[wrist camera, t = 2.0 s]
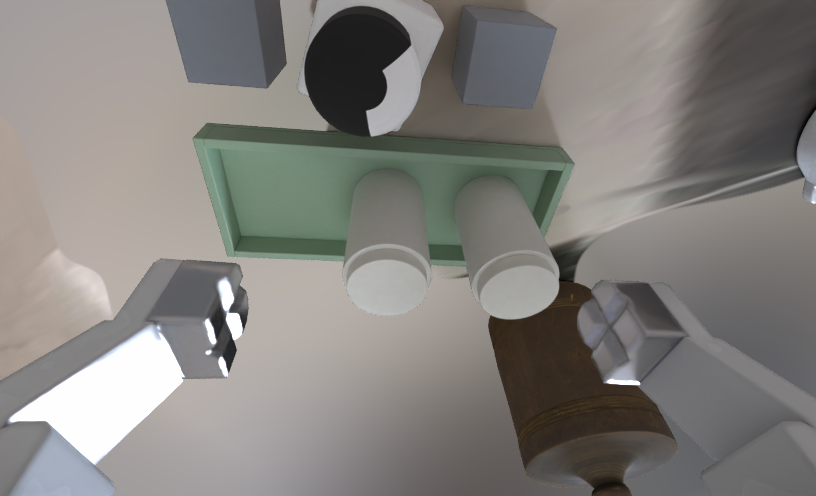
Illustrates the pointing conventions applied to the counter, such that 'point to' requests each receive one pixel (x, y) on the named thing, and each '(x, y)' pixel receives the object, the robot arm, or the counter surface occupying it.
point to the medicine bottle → (368, 62)
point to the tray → (353, 185)
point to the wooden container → (574, 404)
